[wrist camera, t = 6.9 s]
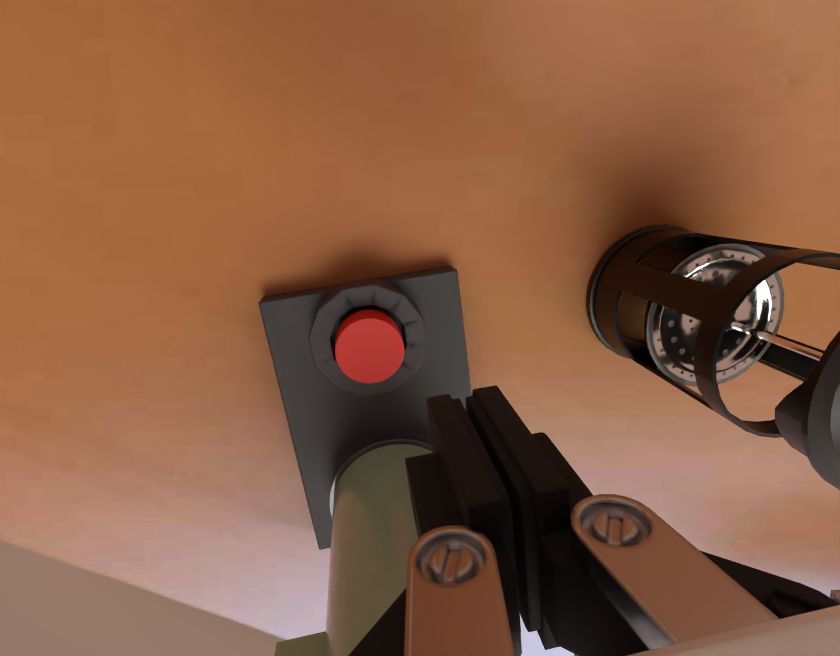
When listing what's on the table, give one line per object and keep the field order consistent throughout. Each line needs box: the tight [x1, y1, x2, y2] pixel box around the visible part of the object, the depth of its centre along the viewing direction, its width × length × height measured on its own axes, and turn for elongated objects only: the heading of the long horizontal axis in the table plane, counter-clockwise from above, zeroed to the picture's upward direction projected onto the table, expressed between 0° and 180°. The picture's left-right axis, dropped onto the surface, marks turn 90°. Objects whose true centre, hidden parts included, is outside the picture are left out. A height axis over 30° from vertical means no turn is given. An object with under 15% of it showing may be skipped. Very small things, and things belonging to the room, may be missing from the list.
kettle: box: [275, 435, 433, 656], centre depth 24 cm, size 11×10×16 cm
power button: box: [335, 309, 404, 383], centre depth 28 cm, size 4×4×2 cm
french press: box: [587, 225, 840, 490], centre depth 23 cm, size 12×9×23 cm
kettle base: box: [259, 266, 472, 549], centre depth 32 cm, size 18×12×4 cm, turn 8°
